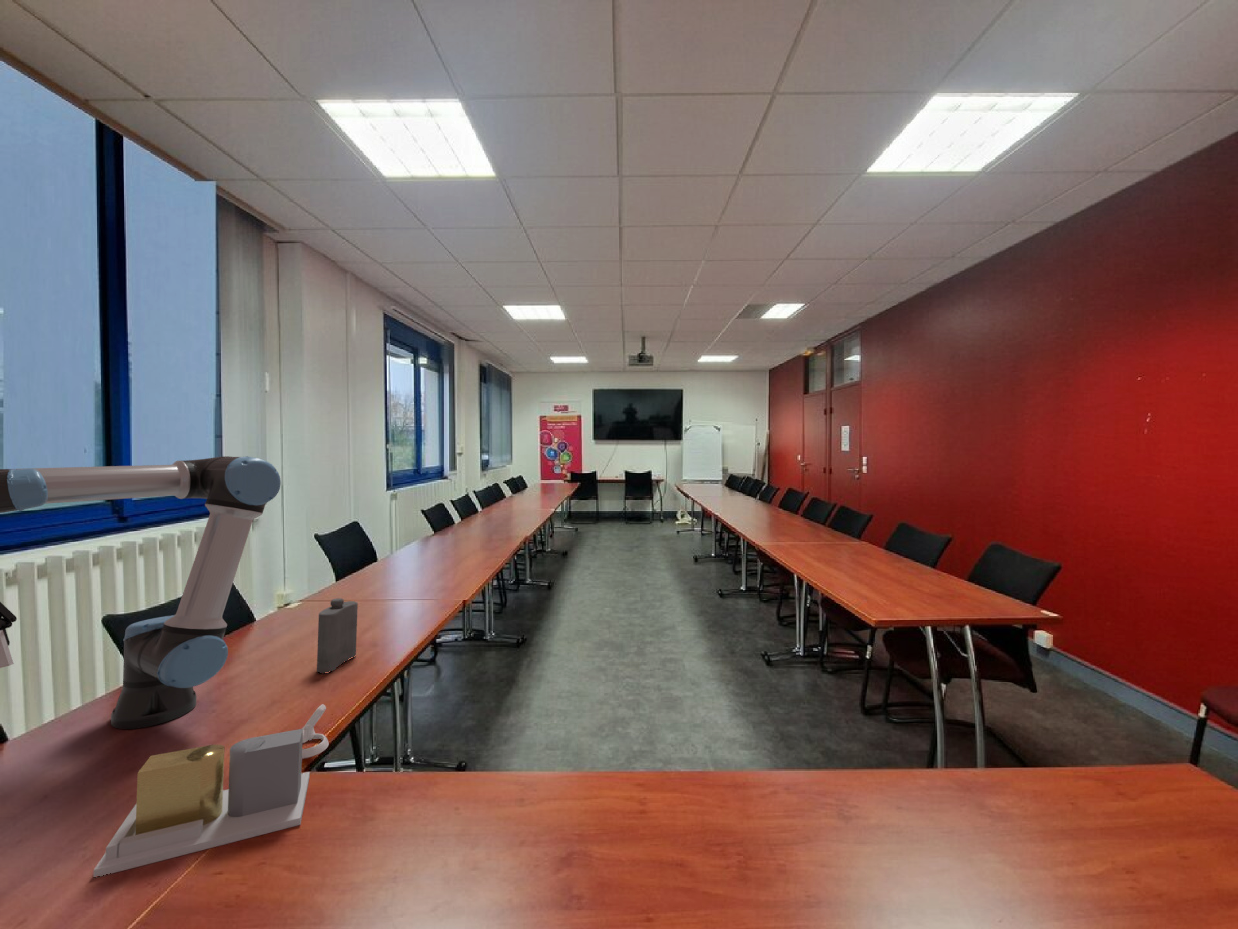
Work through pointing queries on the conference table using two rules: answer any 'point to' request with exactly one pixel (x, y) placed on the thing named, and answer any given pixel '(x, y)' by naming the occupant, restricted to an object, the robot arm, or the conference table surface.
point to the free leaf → (180, 788)
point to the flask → (336, 634)
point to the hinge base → (226, 806)
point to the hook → (310, 734)
